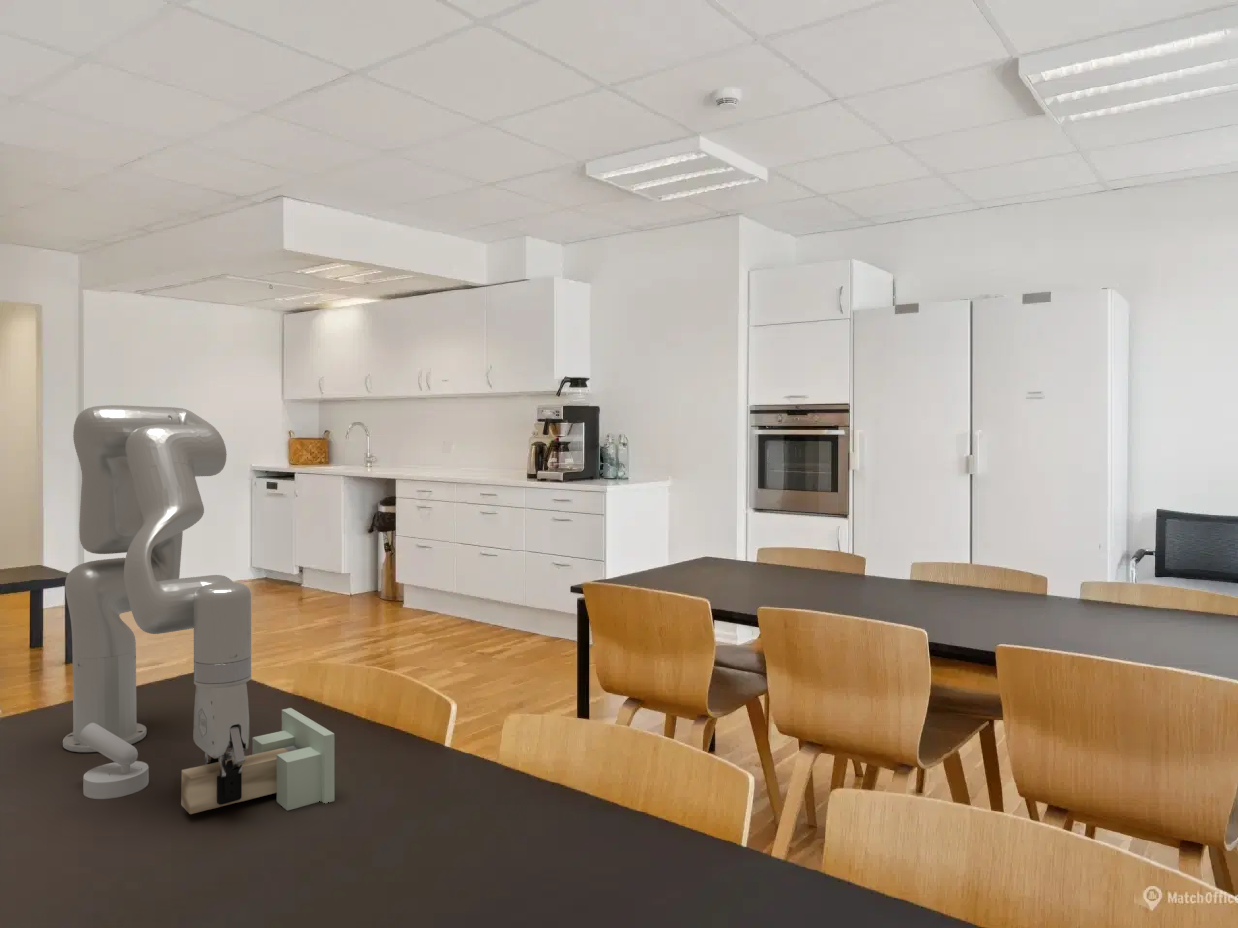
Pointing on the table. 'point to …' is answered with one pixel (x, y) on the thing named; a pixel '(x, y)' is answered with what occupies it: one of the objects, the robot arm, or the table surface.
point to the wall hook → (112, 766)
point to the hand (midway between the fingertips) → (223, 794)
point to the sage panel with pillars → (301, 760)
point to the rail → (255, 781)
